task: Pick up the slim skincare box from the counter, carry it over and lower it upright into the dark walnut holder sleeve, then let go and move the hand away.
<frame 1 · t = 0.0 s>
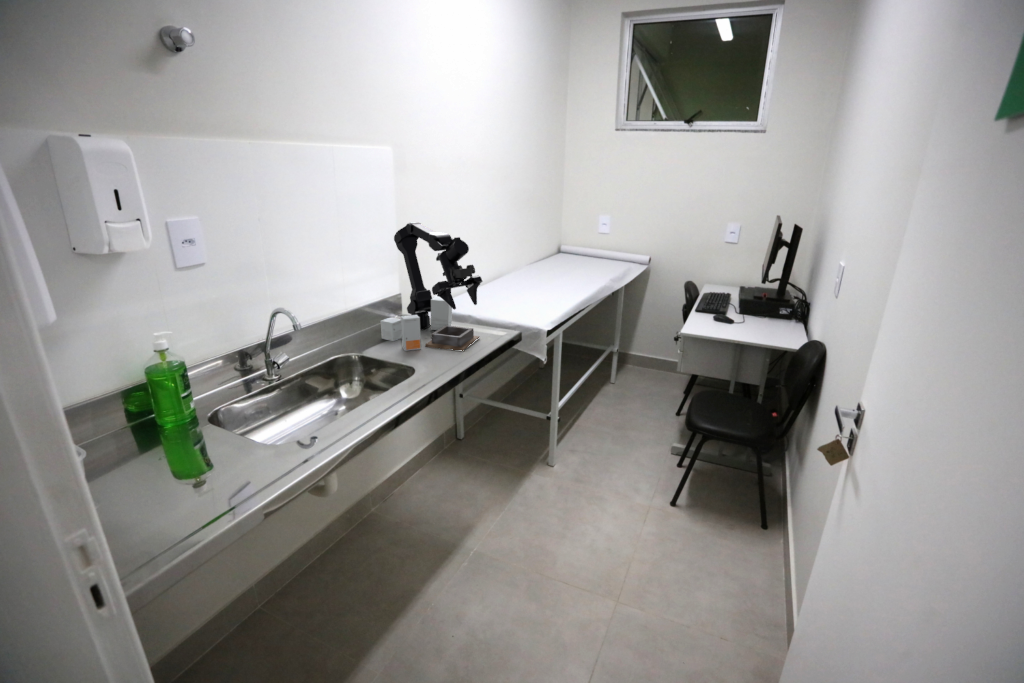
hand: (465, 306, 180), 15 cm above the counter, tool tilted 35°, fingers open, 9 cm apart
skincare box 2: (392, 338, 193), on the counter
skincare box: (412, 349, 182), on the counter
supplement box: (441, 328, 205), on the counter, touching arm
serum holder: (453, 342, 188), on the counter
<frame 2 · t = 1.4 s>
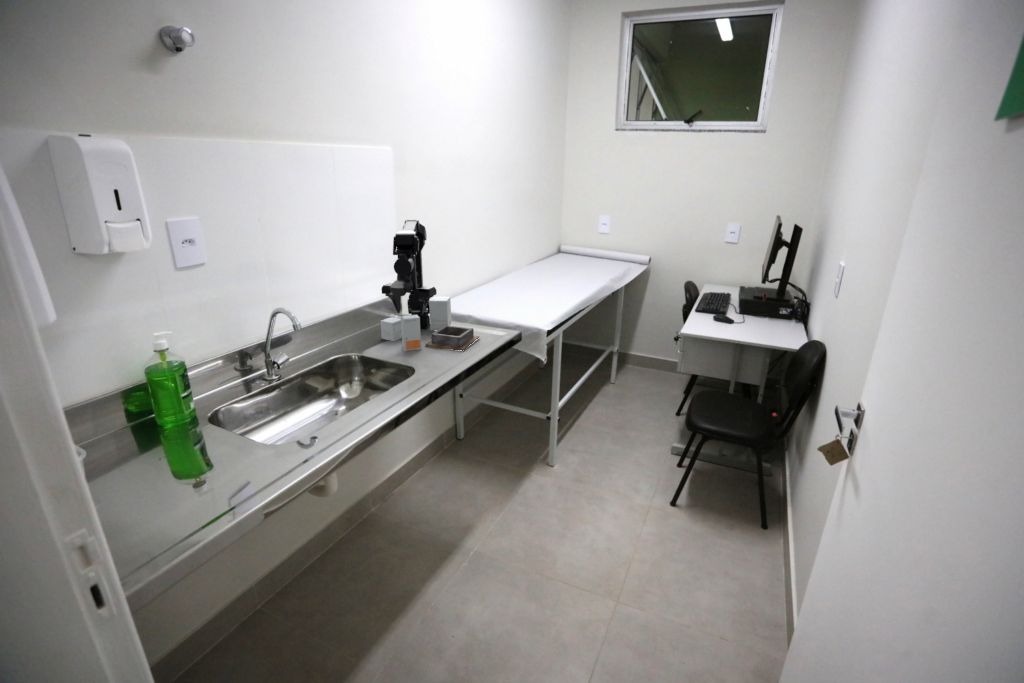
hand: (410, 314, 178), 13 cm above the counter, tool pointing down, fingers open, 9 cm apart
supplement box: (441, 329, 205), on the counter
everything else where it was.
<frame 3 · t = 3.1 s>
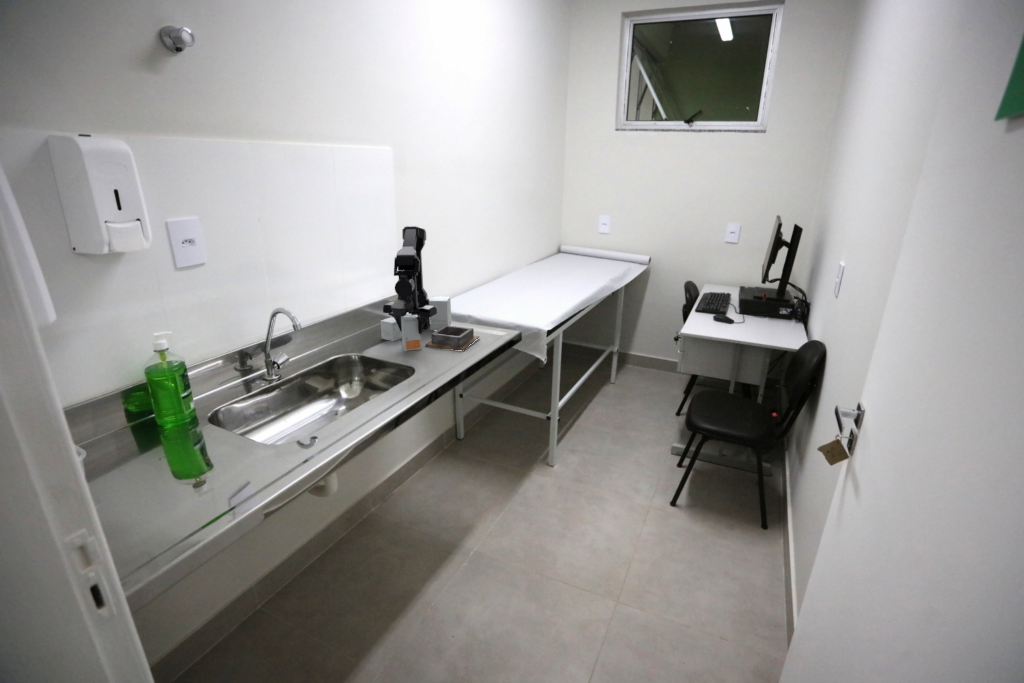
hand: (411, 332, 180), 6 cm above the counter, tool pointing down, fingers closed on skincare box, 7 cm apart
skincare box: (412, 349, 182), on the counter, touching gripper
everything else where it was.
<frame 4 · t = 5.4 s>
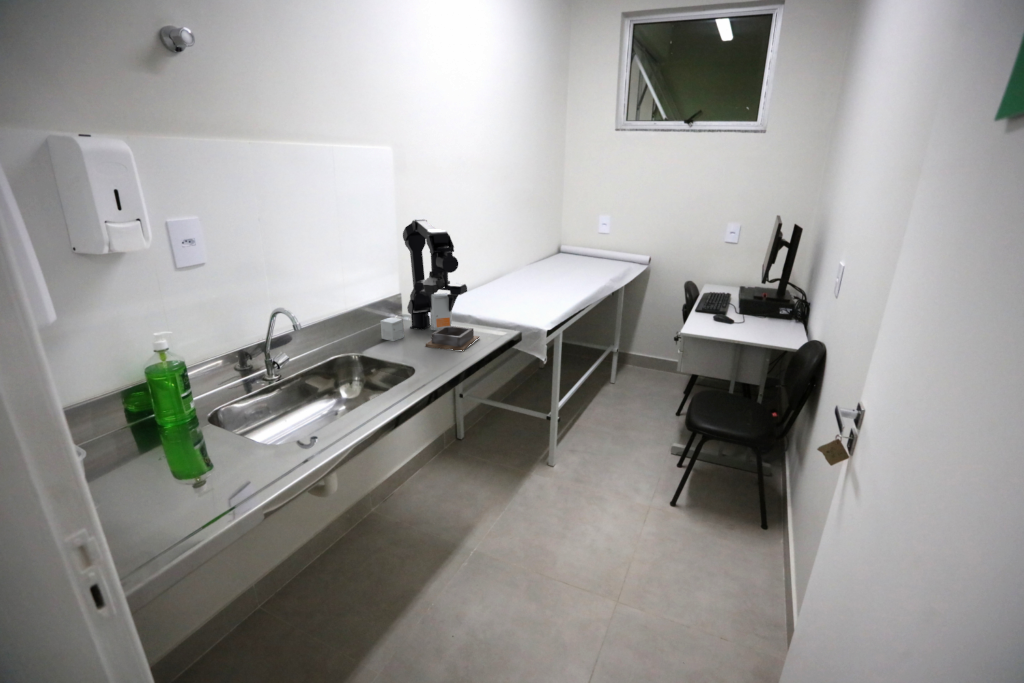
hand: (441, 310, 182), 13 cm above the counter, tool pointing down, fingers closed on skincare box, 7 cm apart
skincare box: (442, 327, 184), point 7 cm above the counter, touching gripper
everything else where it was.
when the fingers open (8 cm above the counter, at t = 7.8 s): skincare box drops 1 cm, resting on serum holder.
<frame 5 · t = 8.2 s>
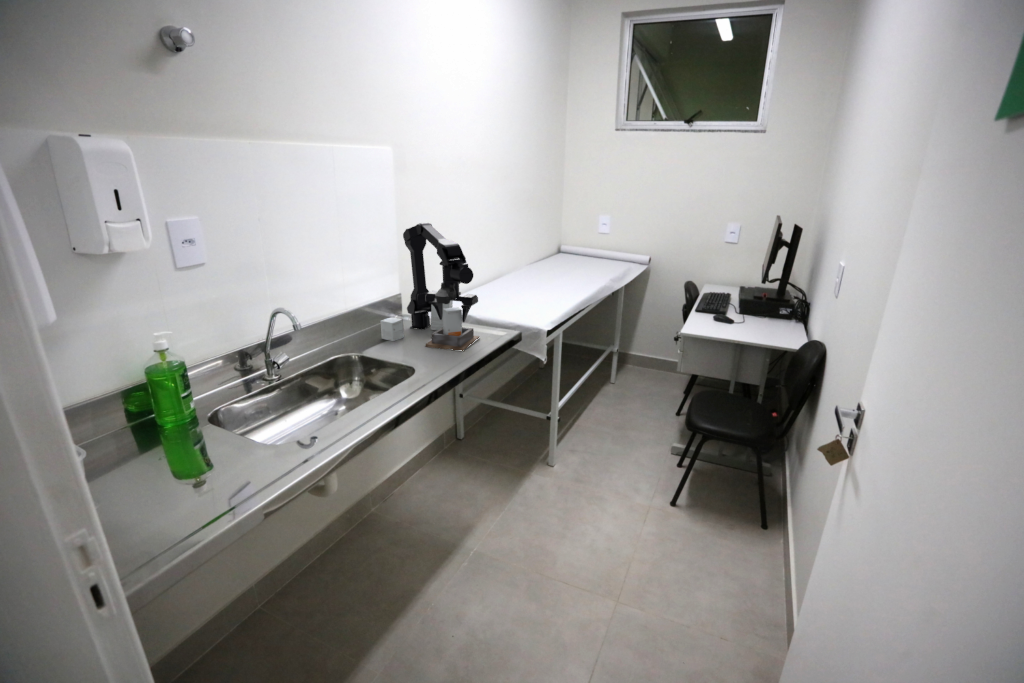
hand: (452, 320, 186), 8 cm above the counter, tool pointing down, fingers open, 9 cm apart
skincare box: (453, 340, 188), point 1 cm above the counter, touching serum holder
supplement box: (441, 328, 205), on the counter, touching arm
everything else where it was.
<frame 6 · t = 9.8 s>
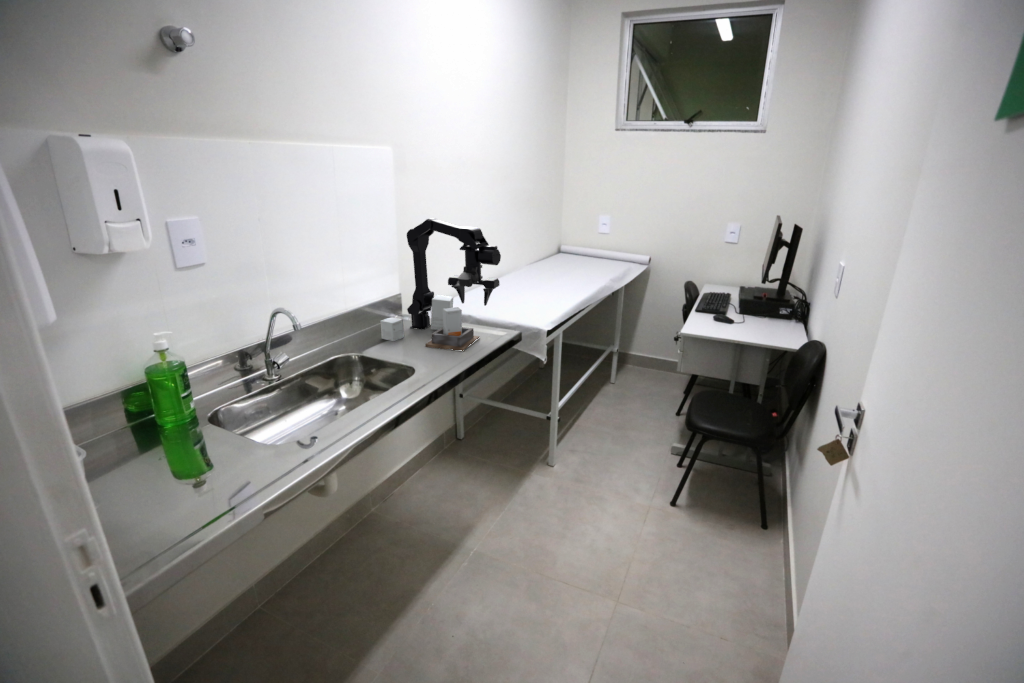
hand: (474, 304, 190), 13 cm above the counter, tool pointing down, fingers open, 9 cm apart
supplement box: (441, 328, 205), on the counter
everything else where it was.
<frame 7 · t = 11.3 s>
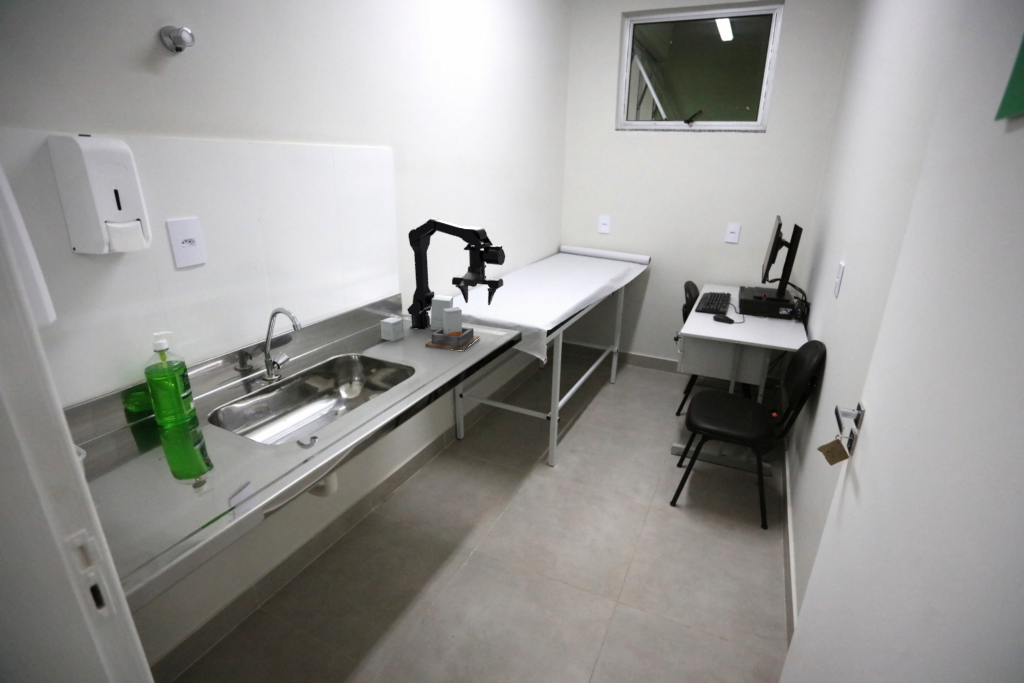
hand: (477, 303, 191), 13 cm above the counter, tool pointing down, fingers open, 9 cm apart
supplement box: (441, 328, 205), on the counter, touching arm
everything else where it was.
at the end: skincare box 0.1 cm off-centre on the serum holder, point 0.8 cm above the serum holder's base; skincare box tilted 0°; the gripper is holding nothing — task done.
